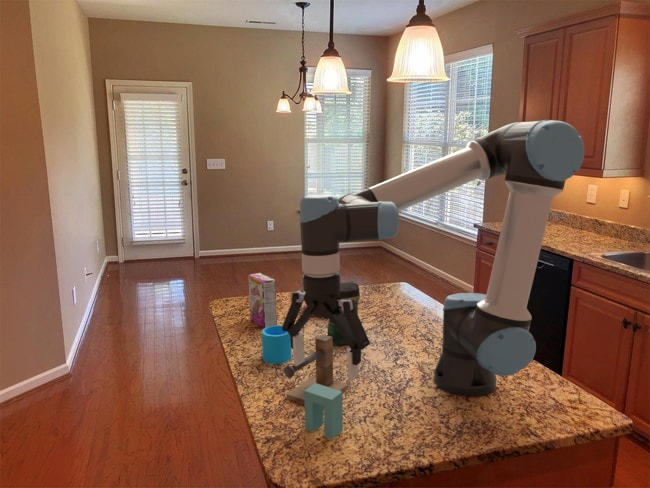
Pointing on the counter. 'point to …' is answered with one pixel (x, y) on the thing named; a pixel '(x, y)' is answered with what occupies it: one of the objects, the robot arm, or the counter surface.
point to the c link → (332, 405)
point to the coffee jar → (346, 293)
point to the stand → (322, 370)
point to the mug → (276, 345)
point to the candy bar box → (262, 300)
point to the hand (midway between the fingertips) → (325, 370)
